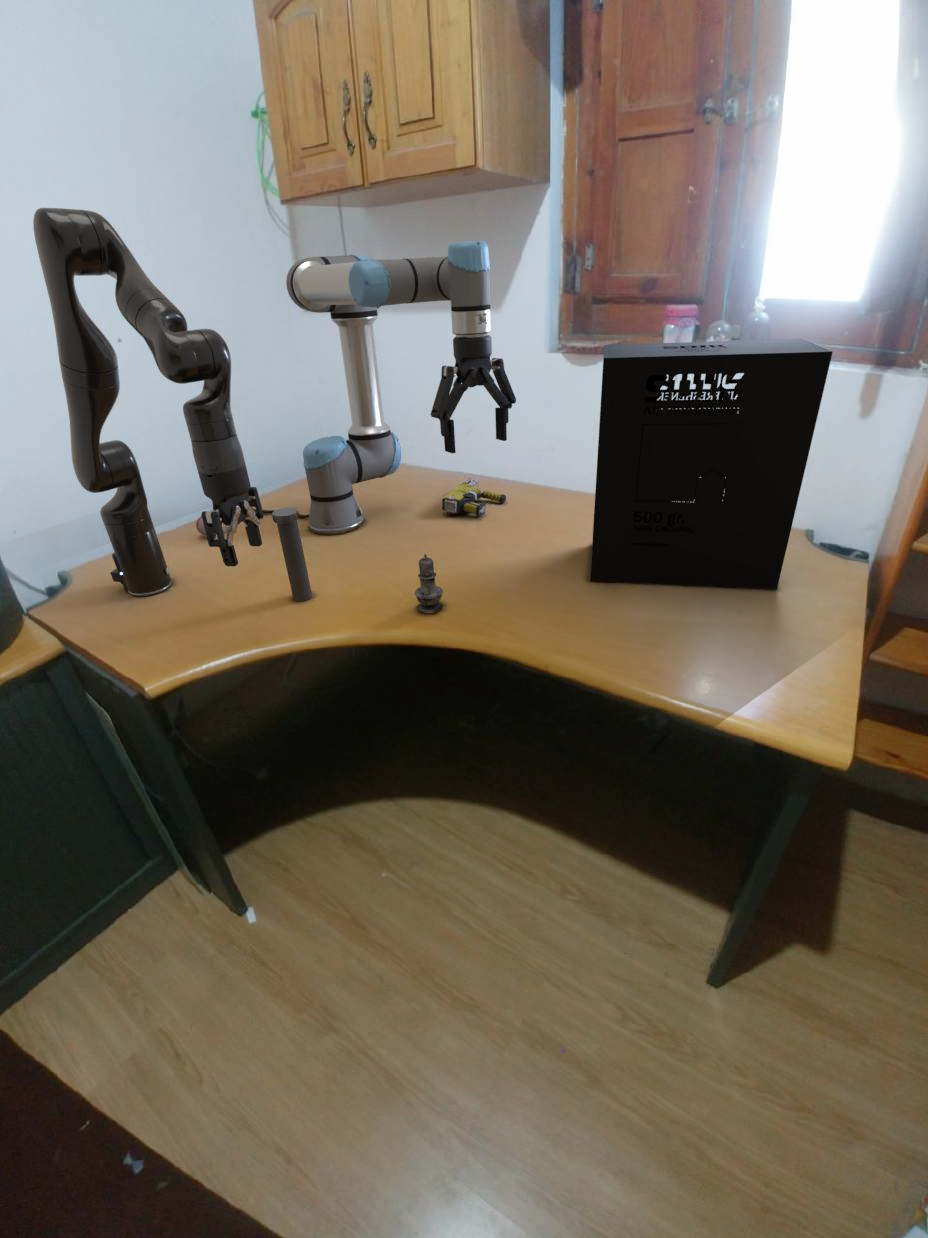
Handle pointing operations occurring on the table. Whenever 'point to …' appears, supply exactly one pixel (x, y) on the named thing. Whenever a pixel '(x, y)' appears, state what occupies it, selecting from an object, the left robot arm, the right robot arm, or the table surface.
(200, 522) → the eyeball
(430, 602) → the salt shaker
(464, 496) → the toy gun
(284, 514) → the lid
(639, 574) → the cardboard box
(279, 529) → the dark grey cylinder
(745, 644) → the table surface
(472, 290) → the right robot arm
